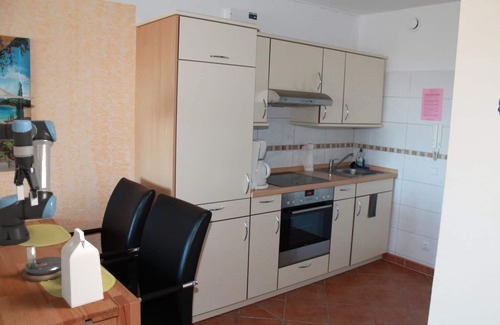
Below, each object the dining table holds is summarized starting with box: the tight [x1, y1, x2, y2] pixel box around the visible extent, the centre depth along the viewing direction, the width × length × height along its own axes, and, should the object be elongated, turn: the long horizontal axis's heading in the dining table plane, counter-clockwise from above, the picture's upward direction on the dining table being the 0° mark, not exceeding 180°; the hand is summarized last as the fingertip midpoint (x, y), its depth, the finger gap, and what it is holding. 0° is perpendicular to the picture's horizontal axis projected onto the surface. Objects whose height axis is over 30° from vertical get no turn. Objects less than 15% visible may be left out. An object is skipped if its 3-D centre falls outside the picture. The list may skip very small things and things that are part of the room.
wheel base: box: [22, 268, 62, 283], centre depth 180 cm, size 17×17×2 cm
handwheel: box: [24, 245, 61, 276], centre depth 179 cm, size 15×15×11 cm
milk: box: [60, 227, 104, 309], centre depth 158 cm, size 12×12×26 cm
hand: (27, 202), depth 191 cm, fingers open, 13 cm apart
